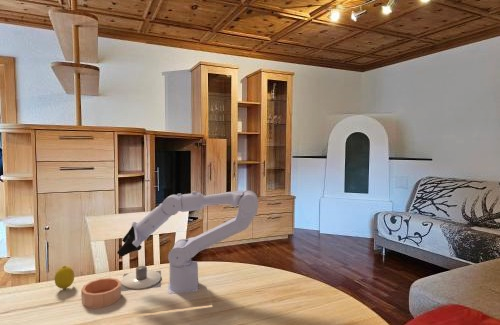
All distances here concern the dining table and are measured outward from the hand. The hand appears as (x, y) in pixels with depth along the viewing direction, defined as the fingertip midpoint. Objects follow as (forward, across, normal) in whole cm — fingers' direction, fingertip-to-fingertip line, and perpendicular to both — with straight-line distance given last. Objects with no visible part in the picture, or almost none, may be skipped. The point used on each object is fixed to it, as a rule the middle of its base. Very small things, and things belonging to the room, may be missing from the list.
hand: (122, 248), depth 103 cm
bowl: (+11, +10, +6) cm, 16 cm away
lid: (+5, 0, +14) cm, 15 cm away
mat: (+5, 0, +14) cm, 15 cm away
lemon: (+23, +2, -2) cm, 23 cm away
